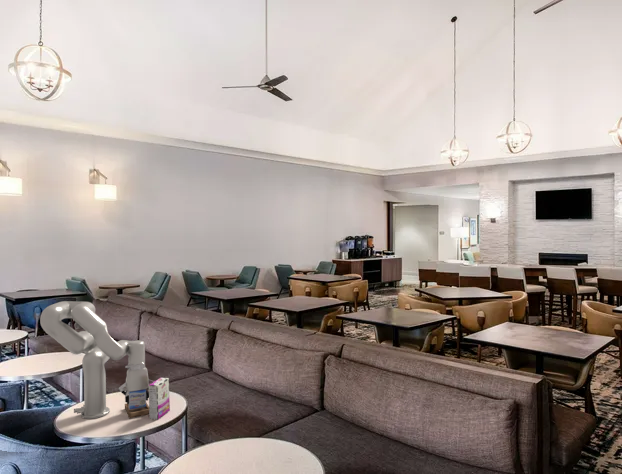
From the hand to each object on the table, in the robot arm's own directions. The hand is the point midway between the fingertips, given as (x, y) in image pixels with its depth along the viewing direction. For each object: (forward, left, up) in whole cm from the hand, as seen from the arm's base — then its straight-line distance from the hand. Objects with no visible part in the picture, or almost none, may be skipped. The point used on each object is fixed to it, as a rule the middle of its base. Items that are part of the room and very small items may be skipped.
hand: (137, 401), depth 223 cm
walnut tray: (0, 0, -5) cm, 5 cm away
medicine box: (0, 0, -3) cm, 3 cm away
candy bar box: (+8, -10, -5) cm, 14 cm away
